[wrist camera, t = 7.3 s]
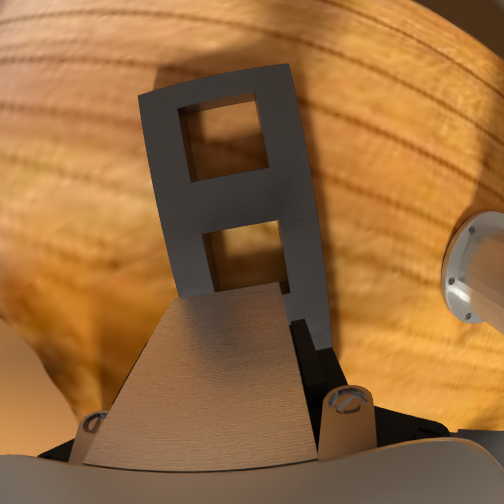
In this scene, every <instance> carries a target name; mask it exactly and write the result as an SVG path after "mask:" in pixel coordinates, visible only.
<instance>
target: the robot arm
mask: <svg viewBox="0 0 504 504" xmlns="http://www.w3.org/2000/svg"><path fill="white" fill-rule="evenodd" d="M441 286H442V294H443V298H444V301H445V304H446V306H447V307H448V309H449V311H450V312H451V313H452V314H453V315H454V316H455V317H457V318H458V319H459V320H461V321H463V322H465V323H471V324H475V323H481V322H484V321H486V322H487V323H488V324H490V325H491V326H492V327H494V328H495V329H496V330H497V331H499V332H500V333H501V334H503V335H504V213H500V212H497V211H490V210H487V211H482V212H479V213H477V214H475V215H473V216H472V217H470V218H469V219H468V220H466V221H465V222H464V223H463V225H462V226H461V227H460V228H459V229H458V231H457V232H456V234H455V235H454V237H453V238H452V241H451V243H450V245H449V247H448V249H447V252H446V255H445V258H444V263H443V268H442V277H441ZM290 322H291V325H289V328H290V333H291V337H292V341H293V346H294V350H295V354H296V359H297V363H298V368H299V372H300V377H301V381H302V385H303V390H304V394H305V399H306V404H307V408H308V413H309V417H310V422H311V426H312V431H313V436H314V440H315V445H316V450H317V455H318V461H314V462H308V463H302V464H296V465H290V466H283V467H275V468H267V469H258V470H247V471H234V472H216V473H157V472H139V471H126V470H116V469H107V468H99V467H91V466H85V465H84V464H83V461H84V459H85V457H86V455H87V453H88V451H89V449H90V447H91V445H92V443H93V442H94V440H95V438H96V436H97V434H98V432H99V430H100V428H101V426H102V424H103V422H104V421H105V419H106V417H107V415H108V413H109V411H108V410H98V411H94V412H92V413H90V414H88V415H87V416H85V417H84V418H83V419H82V420H81V422H80V424H79V427H78V430H77V433H76V437H75V438H74V439H72V440H70V441H68V442H66V443H64V444H61V445H59V446H57V447H55V448H53V449H51V450H49V451H46V452H44V453H42V454H40V455H38V456H37V457H34V456H27V455H10V454H8V455H0V504H504V431H488V430H466V429H458V431H457V433H455V432H449V430H448V429H447V427H445V426H444V425H443V424H441V423H438V422H435V421H431V420H427V419H423V418H419V417H415V416H411V415H407V414H403V413H399V412H395V411H391V410H388V409H384V408H380V407H377V406H374V404H373V397H372V394H371V393H370V392H369V391H368V390H367V389H366V388H364V387H361V386H357V385H348V383H347V381H346V378H345V376H344V374H343V371H342V369H341V367H340V364H339V362H338V360H337V357H336V355H335V353H334V350H333V348H332V347H330V348H325V349H320V350H316V349H315V346H314V344H313V341H312V338H311V335H310V332H309V329H308V326H307V323H306V320H305V319H300V320H294V321H290ZM147 343H148V342H147ZM147 343H146V345H147ZM146 345H145V346H146ZM145 346H144V348H145ZM144 348H143V350H144ZM143 350H142V352H143ZM142 352H141V353H142ZM141 353H140V355H141ZM140 355H139V357H140ZM139 357H138V359H139ZM138 359H137V360H138ZM137 360H136V362H137ZM136 362H135V364H136ZM135 364H134V366H135ZM134 366H133V367H132V369H133V368H134ZM132 369H131V371H132ZM131 371H130V373H131ZM130 373H129V374H128V376H129V375H130ZM128 376H127V378H128ZM127 378H126V380H127ZM126 380H125V382H126ZM125 382H124V383H123V385H122V387H123V386H124V384H125ZM122 387H121V389H122ZM121 389H120V391H121ZM120 391H119V392H118V394H117V396H118V395H119V393H120ZM117 396H116V398H117ZM116 398H115V400H116ZM115 400H114V401H113V403H112V404H114V402H115Z"/></svg>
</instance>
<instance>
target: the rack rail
mask: <svg viewBox="0 0 504 504" xmlns="http://www.w3.org/2000/svg"><path fill="white" fill-rule="evenodd" d="M138 101H139V108H140V115H141V121H142V127H143V134H144V140H145V146H146V151H147V157H148V162H149V168H150V173H151V178H152V183H153V188H154V193H155V198H156V203H157V208H158V212H159V217H160V221H161V226H162V230H163V235H164V239H165V243H166V248H167V252H168V256H169V260H170V264H171V268H172V272H173V276H174V280H175V284H176V287H177V291H178V295H179V298H183V297H189V296H196V295H202V294H208V293H215V292H221V289H220V285H219V281H218V276H217V272H216V267H215V263H214V258H213V254H212V249H211V244H210V240H209V235H208V233H209V232H215V231H220V230H225V229H231V228H236V227H242V226H247V225H253V224H259V223H264V222H270V221H276V220H277V223H278V229H279V235H280V241H281V247H282V253H283V259H284V265H285V271H286V278H287V281H285V282H280V283H279V286H280V290H281V294H282V298H283V303H284V307H285V311H286V315H287V320H288V324H289V325H291V322H290V321H294V320H300V319H305V320H306V323H307V326H308V329H309V332H310V335H311V338H312V341H313V344H314V346H315V349H316V350H320V349H325V348H330V347H332V348H333V346H332V334H331V323H330V312H329V302H328V293H327V284H326V275H325V267H324V258H323V251H322V243H321V236H320V229H319V222H318V215H317V208H316V202H315V195H314V189H313V183H312V177H311V171H310V165H309V160H308V154H307V149H306V143H305V138H304V133H303V127H302V122H301V117H300V113H299V108H298V103H297V98H296V93H295V89H294V84H293V80H292V75H291V71H290V67H289V63H287V64H279V65H272V66H265V67H258V68H252V69H245V70H240V71H234V72H229V73H224V74H219V75H214V76H209V77H205V78H200V79H196V80H192V81H188V82H184V83H180V84H176V85H172V86H168V87H165V88H161V89H158V90H154V91H151V92H148V93H144V94H141V95H138ZM250 101H255V104H256V109H257V114H258V119H259V124H260V129H261V135H262V140H263V145H264V150H265V156H266V161H267V167H268V168H265V169H259V170H254V171H248V172H243V173H237V174H232V175H227V176H222V177H217V178H212V179H207V180H202V181H197V176H196V170H195V165H194V160H193V155H192V149H191V144H190V138H189V133H188V127H187V121H186V116H185V115H187V114H191V113H195V112H200V111H204V110H209V109H213V108H218V107H223V106H228V105H233V104H239V103H244V102H250Z"/></svg>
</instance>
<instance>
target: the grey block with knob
mask: <svg viewBox="0 0 504 504" xmlns="http://www.w3.org/2000/svg"><path fill="white" fill-rule="evenodd" d="M314 461H318V455H317V450H316V445H315V440H314V436H313V431H312V426H311V422H310V417H309V413H308V408H307V404H306V399H305V394H304V390H303V385H302V381H301V377H300V372H299V368H298V363H297V359H296V354H295V350H294V346H293V341H292V337H291V333H290V328H289V324H288V320H287V315H286V311H285V307H284V303H283V298H282V294H281V290H280V286H279V282H274V283H268V284H262V285H257V286H251V287H245V288H239V289H233V290H227V291H221V292H215V293H208V294H202V295H196V296H189V297H183V298H176V299H173V300H172V302H171V304H170V305H169V307H168V309H167V310H166V312H165V314H164V315H163V317H162V319H161V321H160V322H159V324H158V326H157V327H156V329H155V331H154V333H153V334H152V336H151V338H150V339H149V341H148V343H147V345H146V346H145V348H144V350H143V352H142V353H141V355H140V357H139V359H138V360H137V362H136V364H135V366H134V368H133V369H132V371H131V373H130V375H129V376H128V378H127V380H126V382H125V384H124V386H123V387H122V389H121V391H120V393H119V395H118V396H117V398H116V400H115V402H114V404H113V406H112V407H111V409H110V411H109V413H108V415H107V417H106V419H105V421H104V422H103V424H102V426H101V428H100V430H99V432H98V434H97V436H96V438H95V440H94V442H93V443H92V445H91V447H90V449H89V451H88V453H87V455H86V457H85V459H84V461H83V464H84V465H85V466H91V467H99V468H107V469H116V470H126V471H139V472H157V473H216V472H234V471H247V470H258V469H267V468H275V467H283V466H290V465H296V464H302V463H308V462H314Z"/></svg>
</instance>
